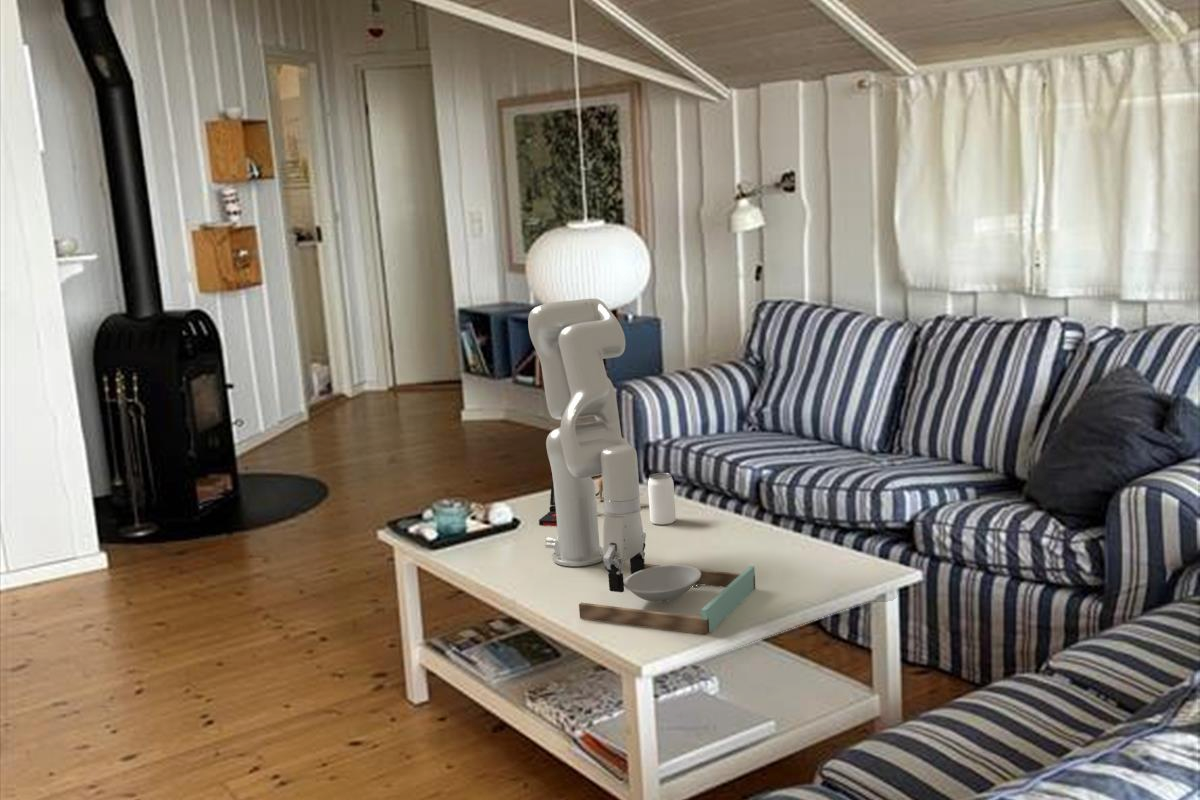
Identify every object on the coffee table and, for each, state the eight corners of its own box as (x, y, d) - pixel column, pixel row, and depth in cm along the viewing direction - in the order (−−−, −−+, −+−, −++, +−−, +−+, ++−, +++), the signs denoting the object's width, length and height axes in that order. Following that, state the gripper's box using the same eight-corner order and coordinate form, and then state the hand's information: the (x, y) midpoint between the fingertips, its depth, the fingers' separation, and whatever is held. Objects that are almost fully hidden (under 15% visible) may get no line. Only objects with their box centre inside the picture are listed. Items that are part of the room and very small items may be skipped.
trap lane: (579, 618, 246) (578, 594, 245) (636, 575, 268) (634, 554, 267) (707, 634, 233) (706, 610, 232) (755, 588, 255) (754, 566, 254)
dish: (668, 581, 263) (667, 559, 262) (718, 595, 252) (717, 573, 251) (609, 605, 251) (607, 582, 250) (658, 621, 241) (657, 597, 240)
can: (676, 524, 303) (673, 478, 300) (650, 526, 303) (647, 480, 301) (675, 517, 309) (672, 471, 307) (649, 518, 309) (647, 473, 307)
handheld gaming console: (537, 525, 311) (534, 488, 309) (555, 512, 322) (552, 475, 320) (572, 527, 308) (569, 489, 306) (588, 513, 319) (585, 476, 317)
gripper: (625, 492, 260) (630, 568, 263) (586, 515, 245) (592, 595, 248) (656, 494, 256) (661, 571, 260) (619, 518, 242) (624, 599, 245)
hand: (627, 583), depth 254 cm, fingers open, 9 cm apart
